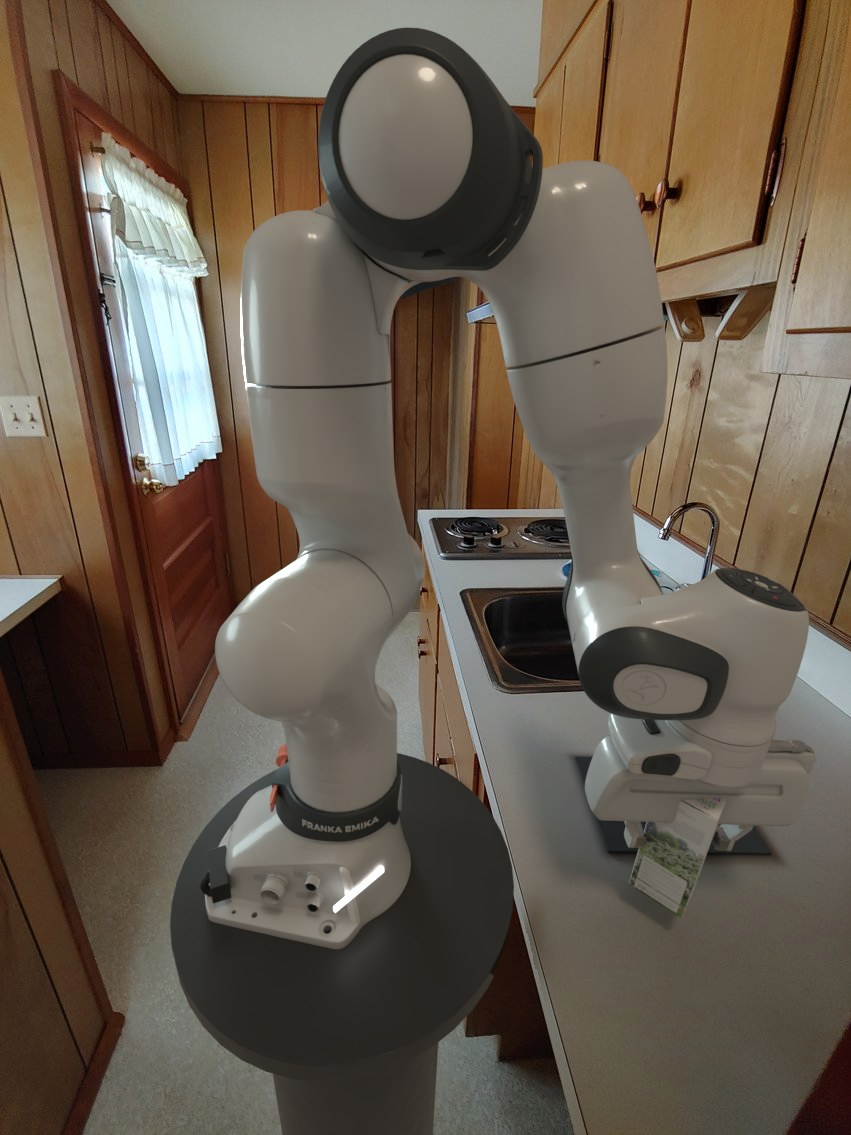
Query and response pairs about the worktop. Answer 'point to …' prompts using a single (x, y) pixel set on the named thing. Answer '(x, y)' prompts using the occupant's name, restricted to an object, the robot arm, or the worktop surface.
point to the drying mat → (615, 829)
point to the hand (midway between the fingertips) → (675, 843)
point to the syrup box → (676, 853)
